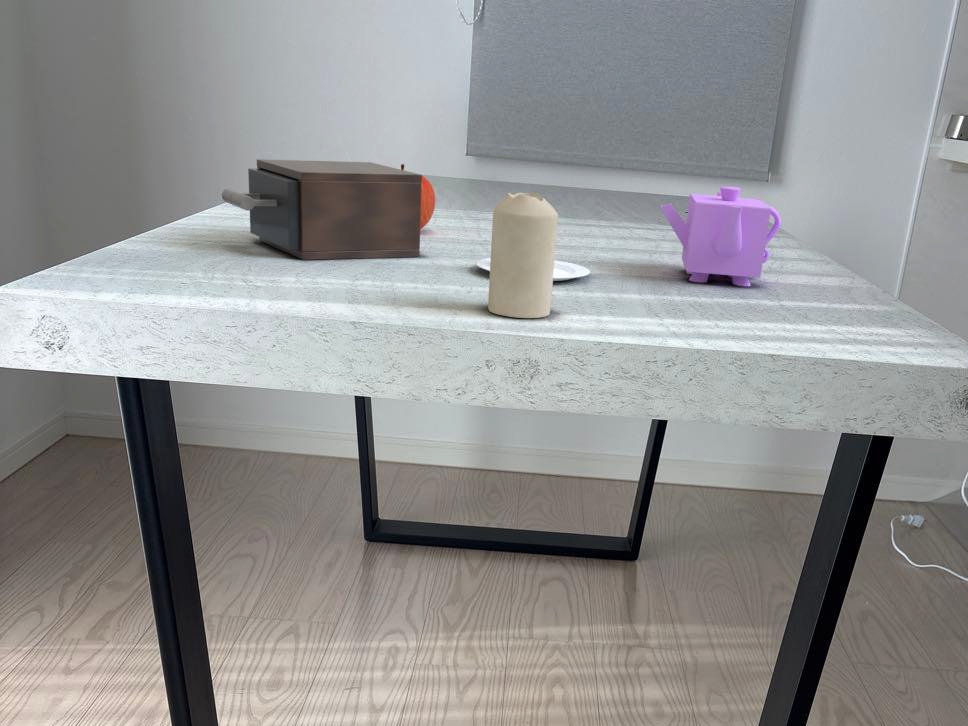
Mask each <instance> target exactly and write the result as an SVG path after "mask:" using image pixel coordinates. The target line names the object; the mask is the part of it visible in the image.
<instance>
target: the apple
mask: <svg viewBox="0 0 968 726" xmlns="http://www.w3.org/2000/svg"><path fill="white" fill-rule="evenodd" d="M400 170H404V171H405V163H401V164H400ZM421 183H422V184H421V220H420V230H421V229H423V228H424V227H425V226H426V225H428V223H429V222H430V220H431V219H432V216H433V215H434V211H435V206H436V194H435V190H434V187H433V185H432V183H431V182H430V181H429V179H428V178H426V176H424V175H422V182H421Z"/></svg>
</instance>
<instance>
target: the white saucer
mask: <svg viewBox="0 0 968 726" xmlns="http://www.w3.org/2000/svg"><path fill="white" fill-rule="evenodd" d="M490 261H491V257H485V258H482V259H479V260H477V261H476V262H475V264H476V266H477V267H479V268H480V269H482V270H485V271H488V272H489V273H490ZM590 273H591V270H590V269H588V268H587V267H585V266H583V265H580V264H576V263H572V262H567V261H562V260H557V259H555V260H554V272H553V282H559V281H561V282H562V281H569V280H572V279H575V278H582V277H585V276H587V275H589V274H590Z"/></svg>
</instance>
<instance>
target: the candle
mask: <svg viewBox="0 0 968 726" xmlns="http://www.w3.org/2000/svg"><path fill="white" fill-rule="evenodd" d="M558 221H559V213H558V212H557V211H556V209H555V208H554V207H553V205H551V204H550V203H549V202H548V201H547V200H546V199H545V198H544V197H543V196H541V195H540V194H539V193H537V192H531V193H530V192H529V193H526V192H517V193H515V194H512V193H511V192H507V194H506V195H505V196H504V197H503V198H502V199H501V201H500V202H498V204H497V205H496V206H495V207H494V208H493V210H492V225H491V226H492V228H491V244H490V245H491V248H490V258H491V261H490V272H489V281H488V301H487V303H488V304H487V306H488V307H487V308H488V311H489V312H490V313H493V314H495V315H499V316H502V317H504V316H505V317H508V318H518V319H519V318H520V319H538V318H539V319H540V318H545V317H547V316H549V315H550V313H551V308H552V296H553V284H554V283H553V282H554V281H553V272H554V260H556V246H557V245H556V244H557V232H558Z"/></svg>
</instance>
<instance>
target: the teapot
mask: <svg viewBox="0 0 968 726" xmlns="http://www.w3.org/2000/svg"><path fill="white" fill-rule="evenodd" d="M719 189H720V190H718V191H717V193H716V194H717V195H711V194H701V193H690V194H689V196H688V197H689V198H688V206H687V214H686V221H684V220H683V218H682V217H681V215H680V214H679V213H678V211H677V210H676V209H675V207H674V206H673V203H672V202H671V203H667V204H662V205H660V209H661V211H662V213H663V214H664V216H665V218H666V220H667V222H668V223H669V225H670V226H671V228H672V230H673V232H674V234H675V235H676V236H677V238H678V240H679V242H680V244H681V245H682V251H681V252H682V253H681V261H682V264H683V266H684V268H685V271H686V272H685V273H686V274H689V275H690V277H689V279H688V281H690V282H693V283H707V282H708V280H709V276H710V275H711V274H712V275H722V276H728V278H731V280H732V285H734V286H738V287H751V286H752V284H751V282H750V280H749V278H757V279H760V278H761V276H762V269H763V264H765V263H766V262H768V260H769V258H770V256H771V255H770V253H771V252H770V250H769V249H768V248H766V246H767V244H769V243H770V242H771V241H772V239H773V238H774V237H775V236H776V235H777V233H778V232H779V230H780V228H781V225H782V218H781V215H780V214H779V212H778V211H777V209H775V208H774V207H772V206H769V205H767V204H766V202H764V201H763V200H761V199H759V198H748V197H747V198H746V197H739V196H740V194H741V192H742V188H740V187H736V186H724V185H723V186H720V187H719ZM771 216H772V217H773V219H774V222H773V225H772V227H771V229H770V230H769V225H770V218H771ZM768 231H769V232H768Z"/></svg>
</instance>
